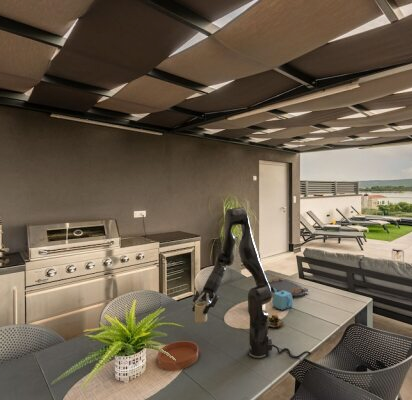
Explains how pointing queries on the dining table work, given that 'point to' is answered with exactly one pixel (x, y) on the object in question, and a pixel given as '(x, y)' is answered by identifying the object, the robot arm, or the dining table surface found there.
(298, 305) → the dining table surface
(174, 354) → the pan
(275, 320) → the burger
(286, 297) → the teapot
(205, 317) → the jar
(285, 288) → the serving tray
